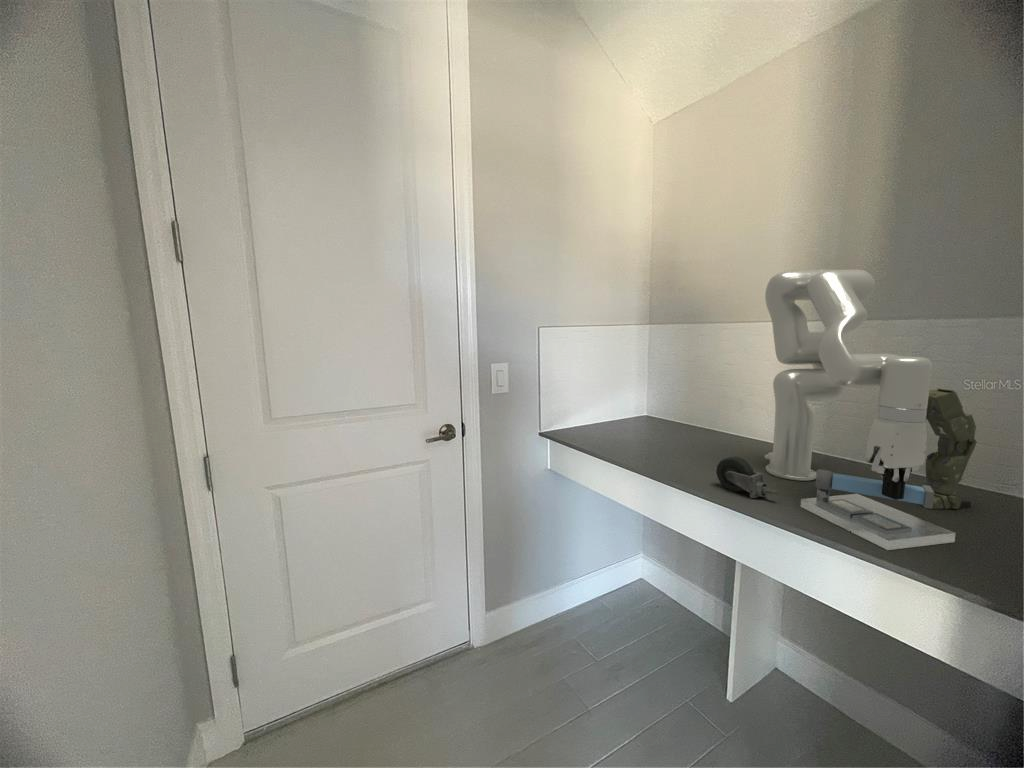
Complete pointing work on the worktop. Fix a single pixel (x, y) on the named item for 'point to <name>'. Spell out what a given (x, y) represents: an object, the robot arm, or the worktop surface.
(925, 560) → the worktop surface
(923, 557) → the worktop surface
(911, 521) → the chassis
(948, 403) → the mechanical leg
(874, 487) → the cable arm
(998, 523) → the worktop surface
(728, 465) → the caster wheel
